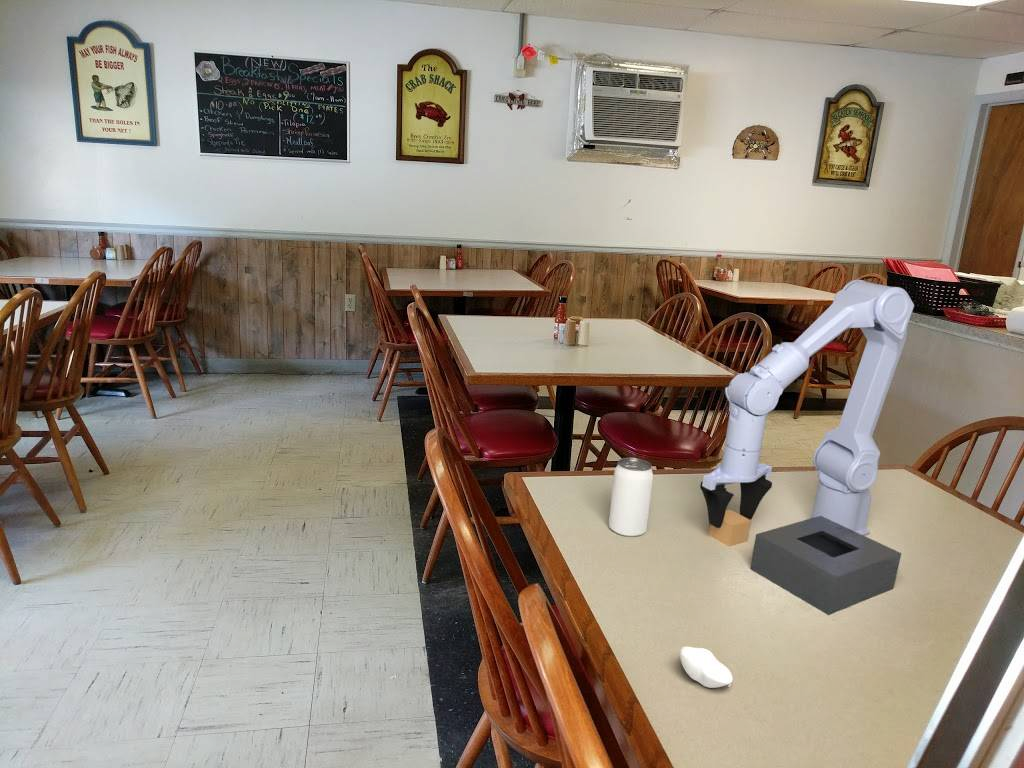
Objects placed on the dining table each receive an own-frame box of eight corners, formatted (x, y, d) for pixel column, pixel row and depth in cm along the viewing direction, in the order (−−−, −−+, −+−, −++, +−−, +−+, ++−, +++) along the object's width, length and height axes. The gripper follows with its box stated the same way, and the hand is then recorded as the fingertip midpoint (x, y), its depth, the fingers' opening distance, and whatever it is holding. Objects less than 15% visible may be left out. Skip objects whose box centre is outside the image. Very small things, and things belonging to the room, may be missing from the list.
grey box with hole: (814, 548, 122) (820, 515, 120) (893, 588, 111) (901, 553, 109) (750, 568, 114) (756, 534, 112) (828, 615, 102) (836, 577, 101)
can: (645, 540, 121) (654, 473, 118) (606, 534, 122) (614, 468, 119) (646, 523, 127) (654, 459, 124) (609, 518, 128) (616, 454, 125)
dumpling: (666, 675, 87) (670, 647, 86) (689, 658, 91) (693, 630, 90) (718, 706, 83) (723, 676, 81) (740, 687, 86) (745, 658, 85)
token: (727, 530, 127) (730, 509, 126) (747, 541, 123) (751, 520, 122) (708, 535, 124) (712, 514, 123) (729, 547, 121) (732, 525, 120)
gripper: (753, 433, 126) (741, 504, 130) (693, 443, 119) (682, 519, 122) (786, 446, 121) (773, 521, 124) (726, 458, 113) (714, 537, 117)
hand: (730, 521), depth 123 cm, fingers open, 7 cm apart
